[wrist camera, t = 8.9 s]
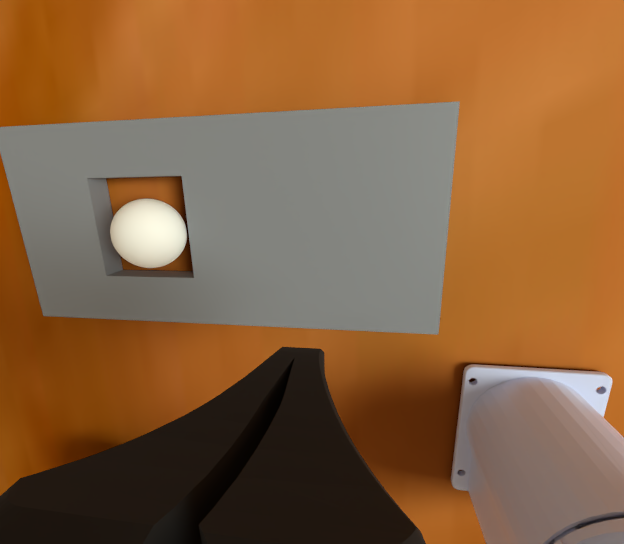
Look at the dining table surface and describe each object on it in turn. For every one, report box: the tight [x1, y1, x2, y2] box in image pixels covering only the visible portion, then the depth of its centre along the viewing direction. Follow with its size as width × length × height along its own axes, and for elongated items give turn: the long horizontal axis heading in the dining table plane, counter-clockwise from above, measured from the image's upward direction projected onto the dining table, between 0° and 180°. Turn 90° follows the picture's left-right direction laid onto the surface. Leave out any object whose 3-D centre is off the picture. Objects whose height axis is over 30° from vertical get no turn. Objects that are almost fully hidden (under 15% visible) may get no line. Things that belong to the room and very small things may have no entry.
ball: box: [110, 199, 187, 268], centre depth 19 cm, size 4×4×4 cm
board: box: [0, 102, 460, 334], centre depth 20 cm, size 12×26×2 cm, turn 91°
